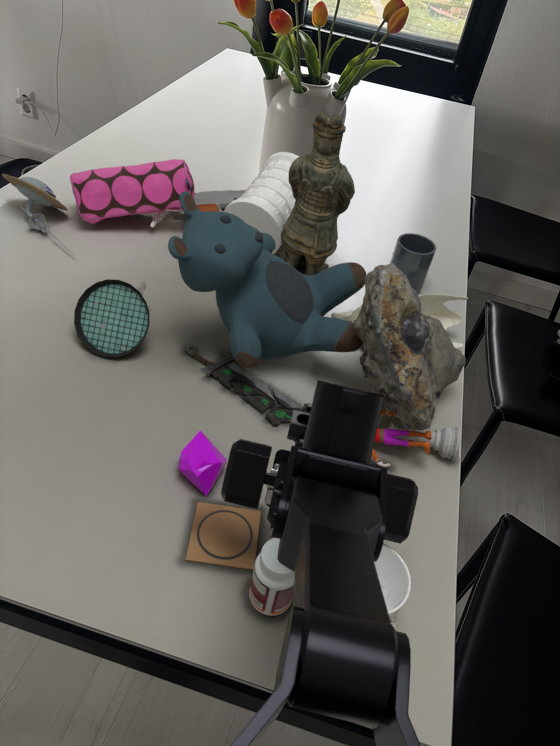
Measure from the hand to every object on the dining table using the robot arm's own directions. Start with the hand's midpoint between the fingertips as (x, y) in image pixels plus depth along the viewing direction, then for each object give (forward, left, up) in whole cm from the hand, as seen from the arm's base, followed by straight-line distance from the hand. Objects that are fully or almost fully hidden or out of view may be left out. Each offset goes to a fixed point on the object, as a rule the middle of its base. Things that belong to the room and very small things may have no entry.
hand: (315, 479), depth 69 cm
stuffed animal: (+31, 0, -3) cm, 31 cm away
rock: (+20, -5, +1) cm, 21 cm away
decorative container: (+52, +13, -1) cm, 54 cm away
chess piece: (+13, -20, -5) cm, 24 cm away
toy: (+48, +51, -7) cm, 70 cm away
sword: (+23, +6, -7) cm, 24 cm away
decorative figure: (+63, +47, -7) cm, 79 cm away
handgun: (+59, +12, -5) cm, 60 cm away
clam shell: (+41, -11, +1) cm, 42 cm away
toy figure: (+13, -10, -6) cm, 17 cm away
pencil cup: (+53, -16, -7) cm, 55 cm away
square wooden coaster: (-4, +9, -7) cm, 12 cm away
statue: (+50, +3, -7) cm, 51 cm away
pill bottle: (-11, +3, -7) cm, 13 cm away
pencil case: (+61, +36, +3) cm, 71 cm away
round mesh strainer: (+25, +30, -2) cm, 39 cm away
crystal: (+4, +13, -7) cm, 15 cm away
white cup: (-13, -5, -7) cm, 15 cm away
